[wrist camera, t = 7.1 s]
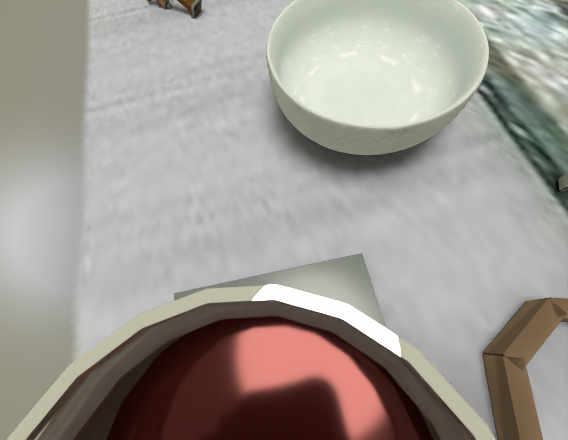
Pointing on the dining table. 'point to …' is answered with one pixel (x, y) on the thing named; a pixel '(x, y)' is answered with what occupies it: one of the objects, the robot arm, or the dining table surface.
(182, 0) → the wooden post with brackets
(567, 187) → the caliper
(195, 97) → the dining table surface
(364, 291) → the slate board
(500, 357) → the ring holder
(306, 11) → the cereal bowl
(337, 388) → the wineglass
